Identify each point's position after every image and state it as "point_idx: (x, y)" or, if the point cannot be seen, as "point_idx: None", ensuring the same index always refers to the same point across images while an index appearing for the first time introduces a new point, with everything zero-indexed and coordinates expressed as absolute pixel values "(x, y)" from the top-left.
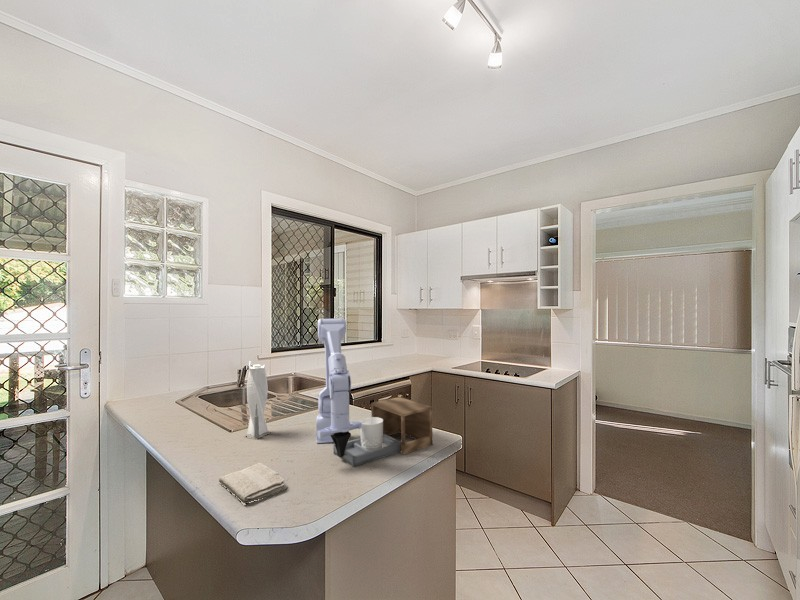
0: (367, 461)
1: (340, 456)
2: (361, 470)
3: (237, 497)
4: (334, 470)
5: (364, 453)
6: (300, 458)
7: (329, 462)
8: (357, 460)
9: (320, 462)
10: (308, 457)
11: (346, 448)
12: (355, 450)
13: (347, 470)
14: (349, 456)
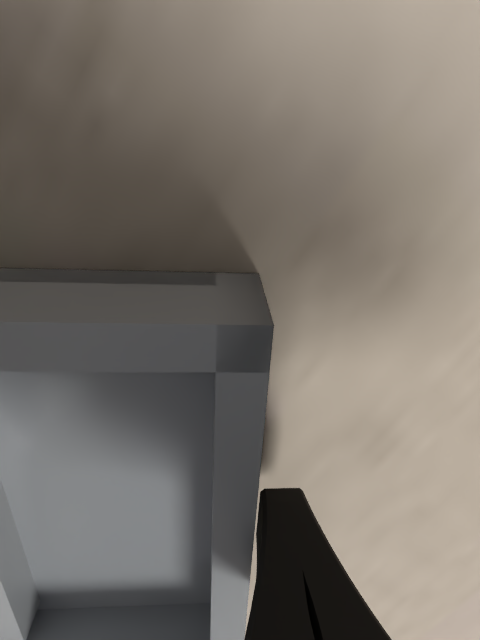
0: (37, 273)
1: (305, 497)
2: (238, 103)
3: None
4: (461, 336)
5: (25, 361)
6: (459, 626)
7: (368, 492)
8: (198, 297)
9: (418, 526)
10: (414, 617)
11: (115, 606)
12: (55, 545)
13: (370, 241)
14: (263, 420)
